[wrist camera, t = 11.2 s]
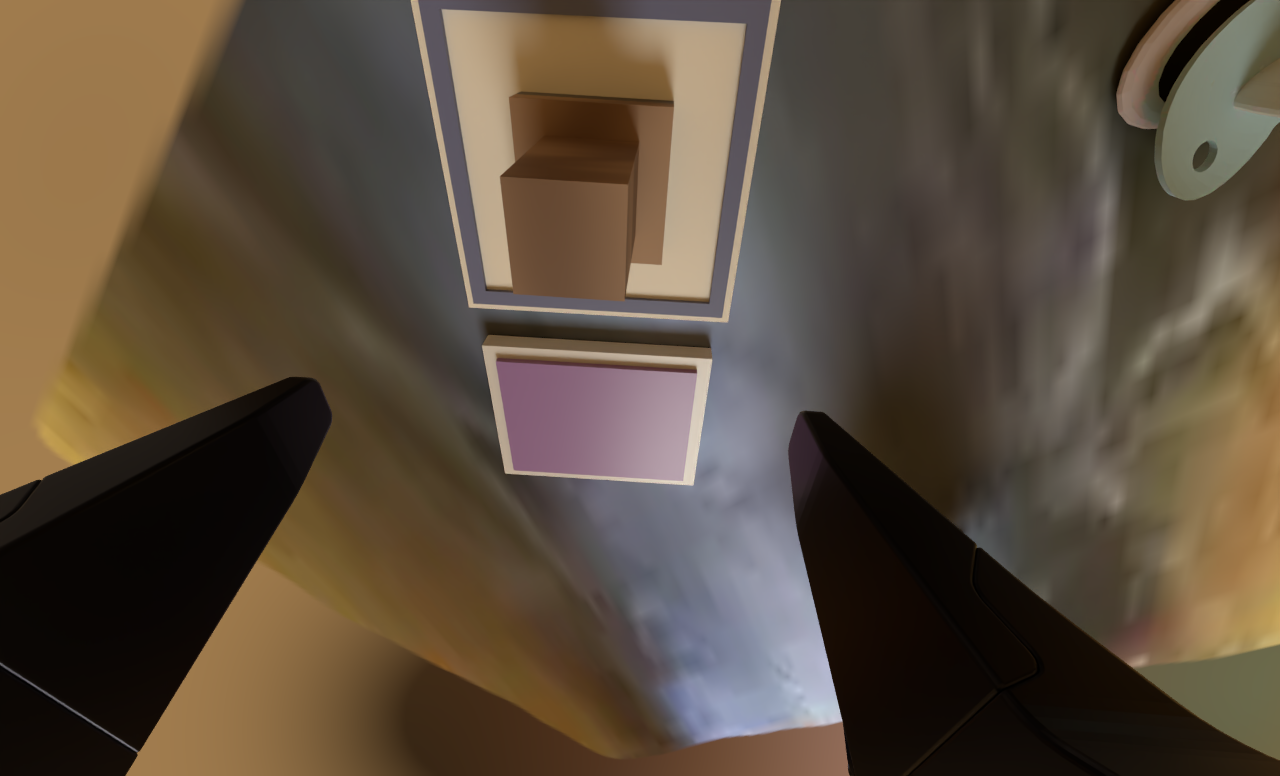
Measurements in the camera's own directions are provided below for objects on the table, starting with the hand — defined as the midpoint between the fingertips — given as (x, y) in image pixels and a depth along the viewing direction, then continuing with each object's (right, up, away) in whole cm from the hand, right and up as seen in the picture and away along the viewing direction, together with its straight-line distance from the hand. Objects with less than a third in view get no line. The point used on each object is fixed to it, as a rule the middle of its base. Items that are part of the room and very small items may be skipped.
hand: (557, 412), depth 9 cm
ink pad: (0, -1, +15) cm, 15 cm away
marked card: (0, +8, +9) cm, 12 cm away
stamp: (0, +8, +8) cm, 12 cm away
